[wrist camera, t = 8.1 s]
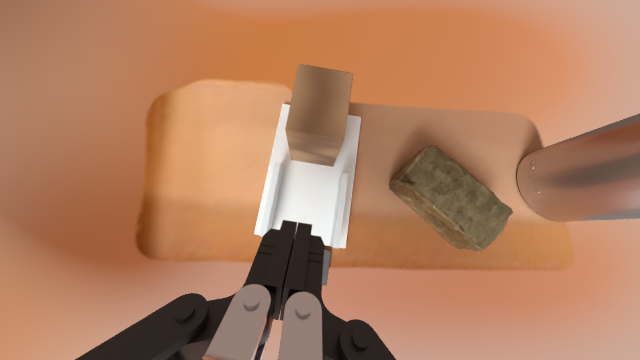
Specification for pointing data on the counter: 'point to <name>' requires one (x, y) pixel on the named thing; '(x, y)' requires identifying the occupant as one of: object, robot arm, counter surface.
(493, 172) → the counter surface
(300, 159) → the walnut block
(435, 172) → the stone block
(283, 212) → the white tray
